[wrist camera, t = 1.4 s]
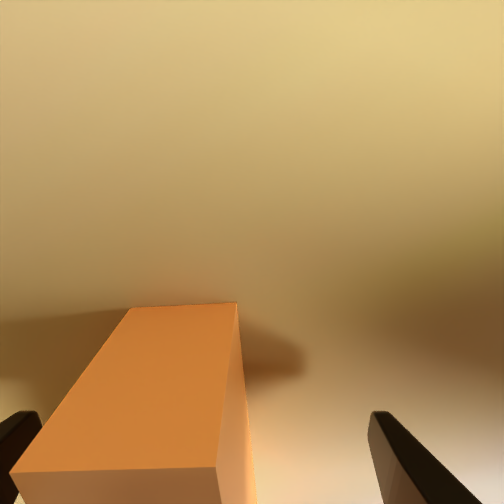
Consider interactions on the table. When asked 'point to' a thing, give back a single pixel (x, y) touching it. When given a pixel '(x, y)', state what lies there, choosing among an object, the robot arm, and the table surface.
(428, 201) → the table surface
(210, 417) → the orange rectangular bar
